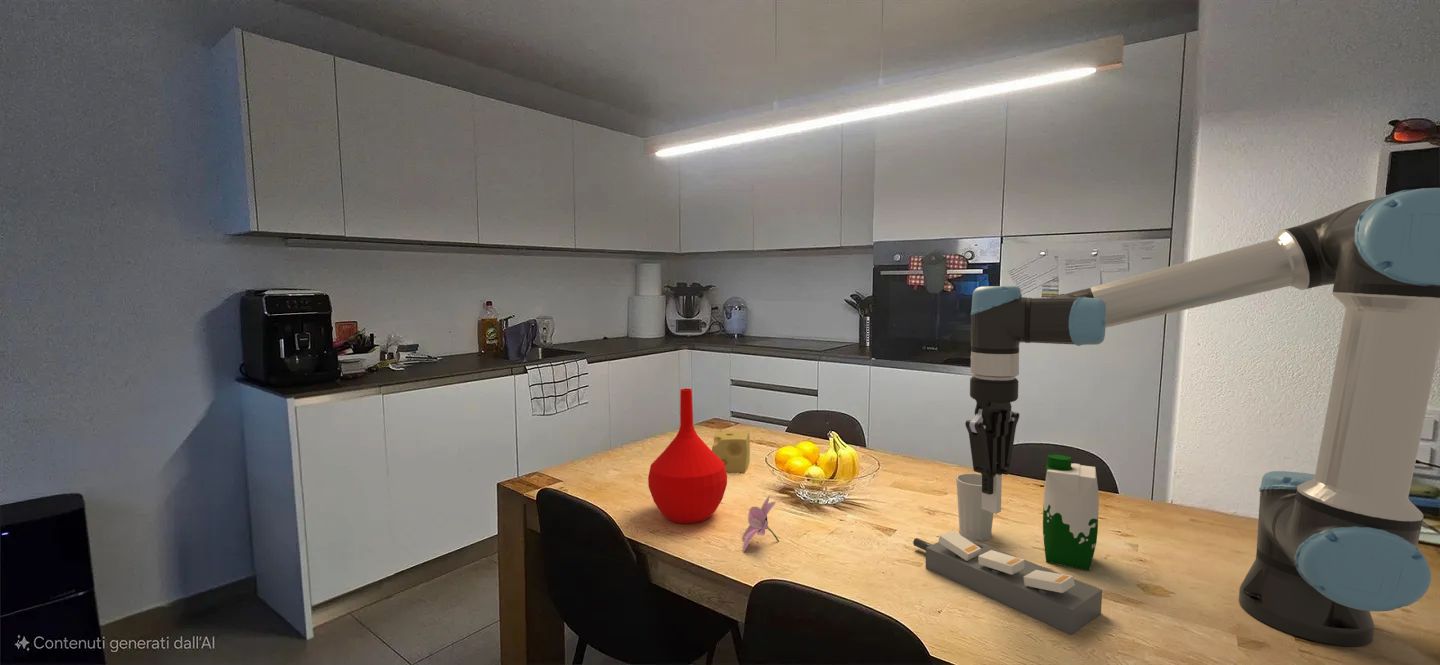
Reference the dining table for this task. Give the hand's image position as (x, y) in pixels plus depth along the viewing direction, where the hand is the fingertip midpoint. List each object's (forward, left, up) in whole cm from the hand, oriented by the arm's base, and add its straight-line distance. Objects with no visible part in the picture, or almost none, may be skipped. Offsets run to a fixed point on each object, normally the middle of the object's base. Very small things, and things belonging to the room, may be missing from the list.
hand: (991, 510), depth 103 cm
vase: (+59, +26, -14) cm, 66 cm away
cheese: (+82, -3, -14) cm, 83 cm away
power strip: (+1, -2, -14) cm, 14 cm away
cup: (+14, -18, -14) cm, 27 cm away
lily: (+38, +22, -14) cm, 46 cm away
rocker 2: (-2, 0, -9) cm, 9 cm away
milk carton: (-3, -22, -14) cm, 26 cm away
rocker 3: (-10, 0, -9) cm, 13 cm away
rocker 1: (+6, 0, -9) cm, 10 cm away
